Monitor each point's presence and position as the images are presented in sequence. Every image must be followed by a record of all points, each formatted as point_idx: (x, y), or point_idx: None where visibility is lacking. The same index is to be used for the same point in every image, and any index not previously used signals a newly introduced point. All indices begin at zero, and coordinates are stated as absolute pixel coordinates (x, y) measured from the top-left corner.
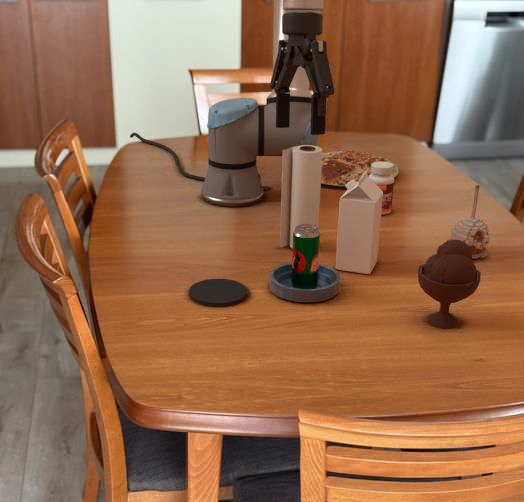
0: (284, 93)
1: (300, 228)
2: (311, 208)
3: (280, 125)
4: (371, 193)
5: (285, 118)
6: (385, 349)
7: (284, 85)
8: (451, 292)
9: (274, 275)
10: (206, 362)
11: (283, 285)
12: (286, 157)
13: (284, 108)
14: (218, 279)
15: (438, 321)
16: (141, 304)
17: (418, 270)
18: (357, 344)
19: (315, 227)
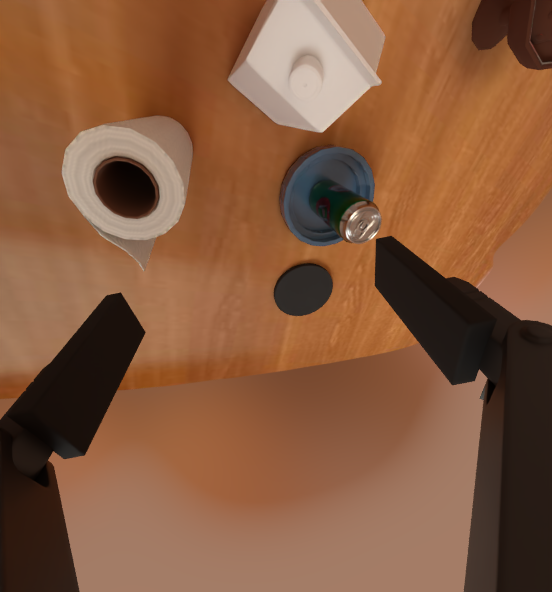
0: (49, 433)
1: (361, 236)
2: (189, 153)
3: (137, 328)
4: (362, 27)
5: (116, 329)
6: (484, 151)
7: (35, 490)
8: None
9: (303, 235)
10: None
11: None
12: (139, 247)
13: (98, 364)
14: (278, 289)
15: (501, 37)
16: (301, 345)
17: (534, 60)
18: (459, 179)
19: (367, 211)
